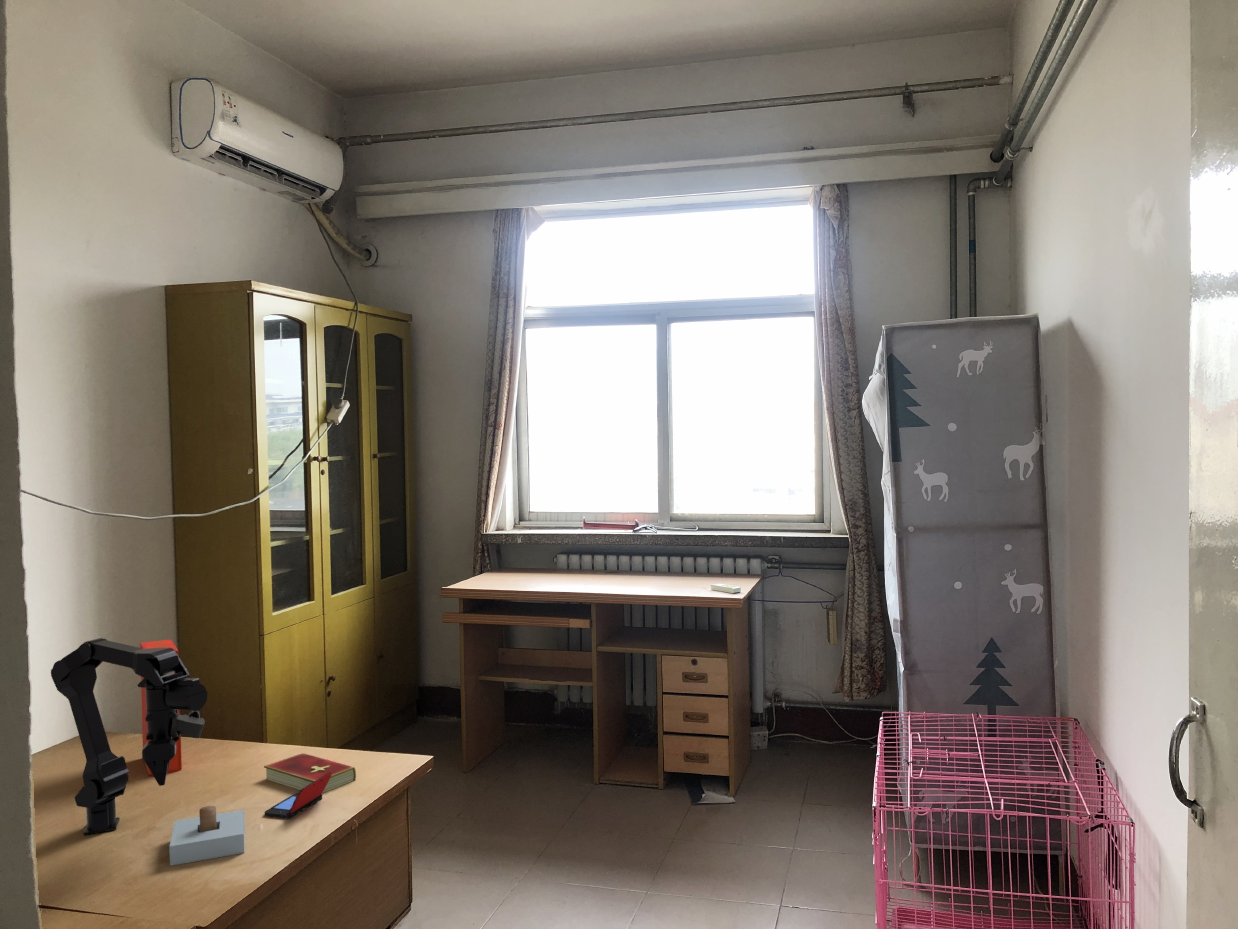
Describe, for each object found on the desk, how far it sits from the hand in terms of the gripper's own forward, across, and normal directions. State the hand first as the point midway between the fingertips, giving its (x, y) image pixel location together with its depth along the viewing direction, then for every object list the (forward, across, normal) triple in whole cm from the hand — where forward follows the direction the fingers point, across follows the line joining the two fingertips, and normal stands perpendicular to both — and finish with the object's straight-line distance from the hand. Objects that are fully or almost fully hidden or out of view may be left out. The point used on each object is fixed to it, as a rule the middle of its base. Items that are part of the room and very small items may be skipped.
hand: (163, 778), depth 200 cm
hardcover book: (+14, +22, -31) cm, 41 cm away
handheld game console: (+14, +4, -28) cm, 31 cm away
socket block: (+13, -9, -9) cm, 18 cm away
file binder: (+13, +53, +5) cm, 55 cm away
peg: (+13, -9, -9) cm, 18 cm away
